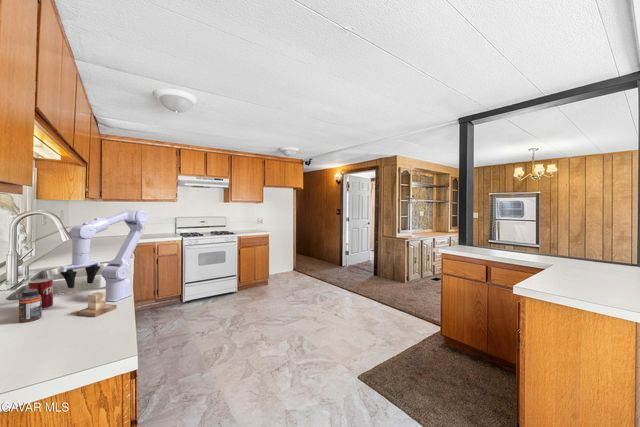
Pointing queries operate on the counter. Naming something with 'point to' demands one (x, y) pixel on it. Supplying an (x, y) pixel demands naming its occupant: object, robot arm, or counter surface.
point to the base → (96, 311)
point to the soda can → (43, 291)
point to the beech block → (96, 300)
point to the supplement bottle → (30, 306)
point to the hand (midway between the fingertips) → (80, 285)
